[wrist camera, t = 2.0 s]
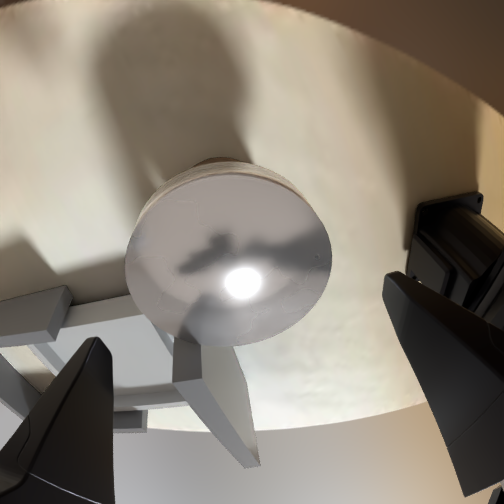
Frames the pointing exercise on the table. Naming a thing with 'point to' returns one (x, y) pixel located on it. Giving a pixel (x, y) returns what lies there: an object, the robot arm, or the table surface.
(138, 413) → the dock
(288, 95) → the table surface
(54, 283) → the table surface
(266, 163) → the table surface
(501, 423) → the robot arm
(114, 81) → the table surface
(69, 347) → the tray
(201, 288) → the disc
